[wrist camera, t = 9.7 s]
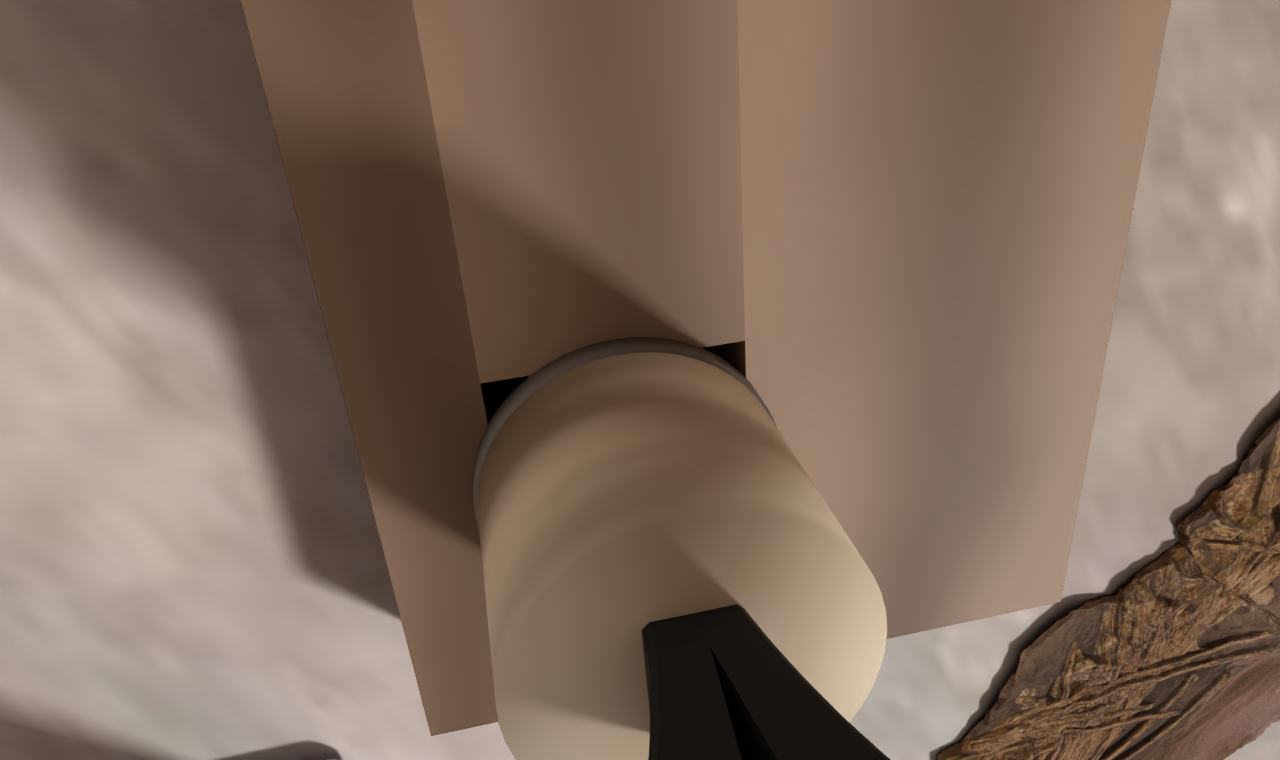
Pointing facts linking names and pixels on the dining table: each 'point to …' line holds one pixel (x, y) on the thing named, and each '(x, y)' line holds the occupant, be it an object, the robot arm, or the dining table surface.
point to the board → (724, 255)
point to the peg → (651, 542)
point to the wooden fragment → (1161, 646)
